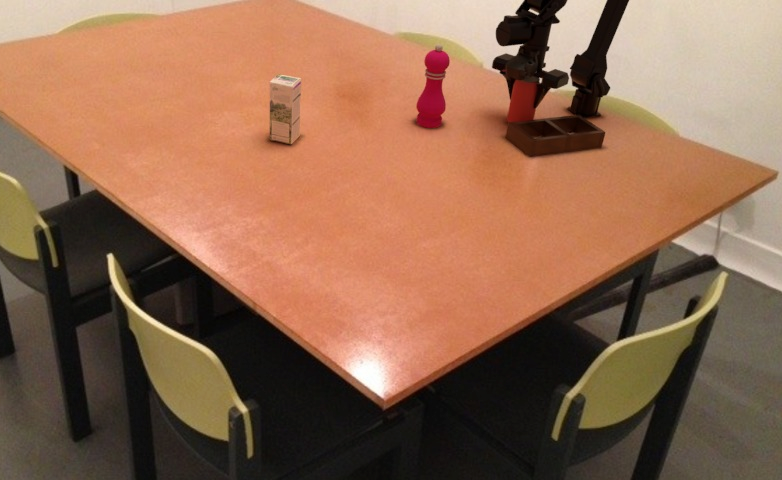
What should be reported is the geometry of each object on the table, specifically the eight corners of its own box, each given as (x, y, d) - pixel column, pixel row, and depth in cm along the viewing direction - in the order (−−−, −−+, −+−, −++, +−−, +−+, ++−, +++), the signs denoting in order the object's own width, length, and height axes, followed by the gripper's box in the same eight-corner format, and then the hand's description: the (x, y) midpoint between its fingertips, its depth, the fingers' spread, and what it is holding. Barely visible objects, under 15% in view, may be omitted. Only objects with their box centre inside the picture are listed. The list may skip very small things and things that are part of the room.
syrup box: (300, 136, 183) (302, 76, 175) (291, 145, 179) (292, 85, 170) (278, 131, 185) (279, 72, 176) (268, 141, 180) (268, 81, 172)
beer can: (503, 117, 199) (512, 72, 193) (528, 117, 200) (537, 73, 193) (510, 128, 194) (519, 82, 187) (535, 128, 195) (545, 82, 188)
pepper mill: (441, 130, 190) (453, 50, 179) (412, 126, 191) (422, 47, 180) (444, 119, 196) (455, 41, 185) (416, 115, 197) (425, 37, 186)
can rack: (575, 129, 196) (578, 114, 193) (601, 147, 187) (605, 132, 185) (505, 137, 189) (508, 122, 187) (529, 156, 181) (532, 140, 178)
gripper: (484, 38, 185) (474, 100, 194) (551, 59, 175) (538, 123, 184) (510, 30, 192) (499, 90, 201) (576, 49, 182) (562, 112, 191)
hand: (523, 103), depth 194 cm, fingers closed on beer can, 7 cm apart
